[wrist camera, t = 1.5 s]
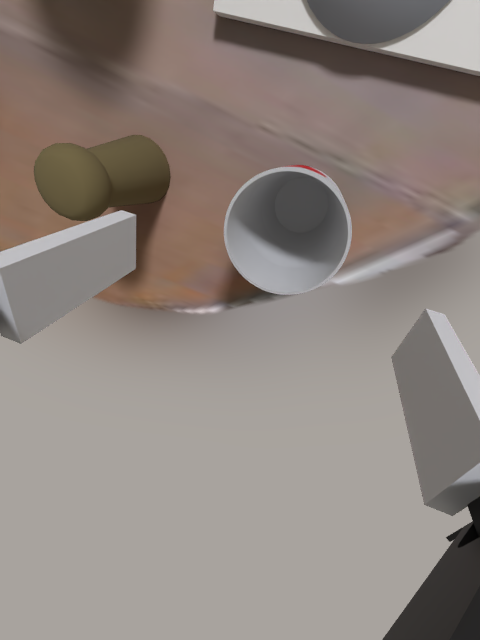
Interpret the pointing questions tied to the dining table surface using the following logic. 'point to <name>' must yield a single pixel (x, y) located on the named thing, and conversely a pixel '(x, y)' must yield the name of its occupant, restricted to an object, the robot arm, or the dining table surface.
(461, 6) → the board
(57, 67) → the dining table surface
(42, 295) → the robot arm
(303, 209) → the cup
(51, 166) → the olive peg figure
